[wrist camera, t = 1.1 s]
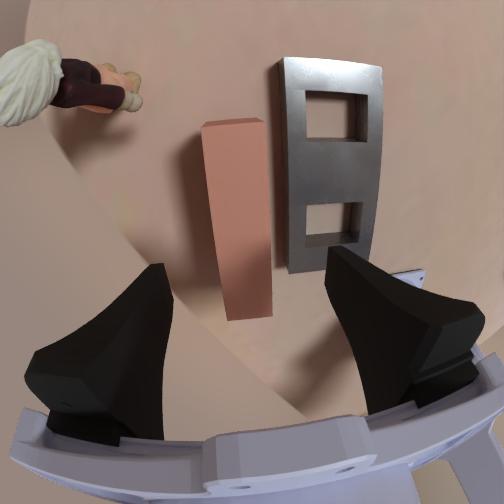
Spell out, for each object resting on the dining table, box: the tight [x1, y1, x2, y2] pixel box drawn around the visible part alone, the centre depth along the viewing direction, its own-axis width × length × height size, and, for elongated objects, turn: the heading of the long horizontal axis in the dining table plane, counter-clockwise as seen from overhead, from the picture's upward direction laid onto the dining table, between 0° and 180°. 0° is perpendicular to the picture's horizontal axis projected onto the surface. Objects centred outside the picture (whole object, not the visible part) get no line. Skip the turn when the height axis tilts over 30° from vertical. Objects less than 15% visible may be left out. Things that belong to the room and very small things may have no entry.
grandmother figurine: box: [0, 39, 143, 127], centre depth 10 cm, size 8×4×13 cm, turn 68°
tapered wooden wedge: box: [201, 118, 273, 321], centre depth 18 cm, size 12×3×6 cm, turn 3°
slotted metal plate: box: [278, 57, 383, 274], centre depth 19 cm, size 16×7×2 cm, turn 3°
